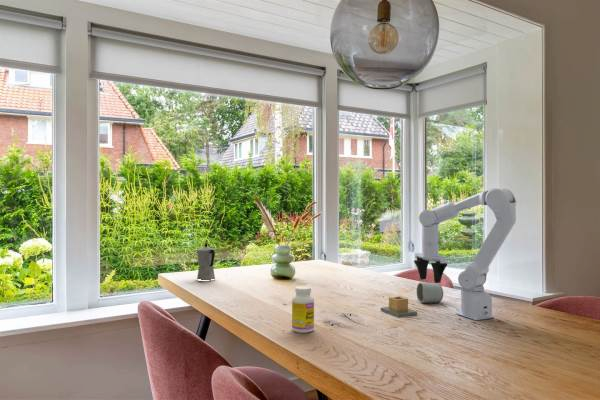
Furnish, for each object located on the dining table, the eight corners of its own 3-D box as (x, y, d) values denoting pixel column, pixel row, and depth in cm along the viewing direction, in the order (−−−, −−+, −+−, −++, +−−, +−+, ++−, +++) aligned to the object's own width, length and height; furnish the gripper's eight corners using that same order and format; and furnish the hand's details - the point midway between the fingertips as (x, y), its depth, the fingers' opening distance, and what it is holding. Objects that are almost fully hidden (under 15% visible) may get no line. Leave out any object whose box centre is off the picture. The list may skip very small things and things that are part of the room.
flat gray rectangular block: (417, 314, 153) (417, 302, 153) (398, 317, 150) (398, 305, 150) (399, 308, 162) (399, 297, 162) (380, 310, 159) (380, 299, 159)
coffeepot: (191, 279, 223) (191, 242, 223) (208, 277, 228) (208, 241, 228) (204, 283, 210) (204, 245, 210) (223, 281, 216) (222, 244, 216)
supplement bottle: (306, 334, 130) (306, 290, 130) (287, 331, 134) (287, 288, 134) (318, 329, 136) (318, 286, 136) (299, 326, 140) (299, 284, 140)
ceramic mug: (444, 304, 168) (444, 283, 169) (423, 304, 167) (423, 284, 167) (432, 298, 179) (432, 279, 179) (412, 299, 178) (412, 279, 178)
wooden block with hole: (408, 310, 155) (408, 298, 155) (397, 311, 153) (397, 300, 153) (399, 307, 159) (399, 296, 159) (389, 308, 157) (388, 297, 157)
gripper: (453, 244, 157) (453, 283, 157) (425, 241, 170) (425, 276, 170) (437, 245, 154) (437, 285, 154) (410, 241, 167) (410, 278, 167)
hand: (430, 280), depth 162 cm, fingers open, 7 cm apart
